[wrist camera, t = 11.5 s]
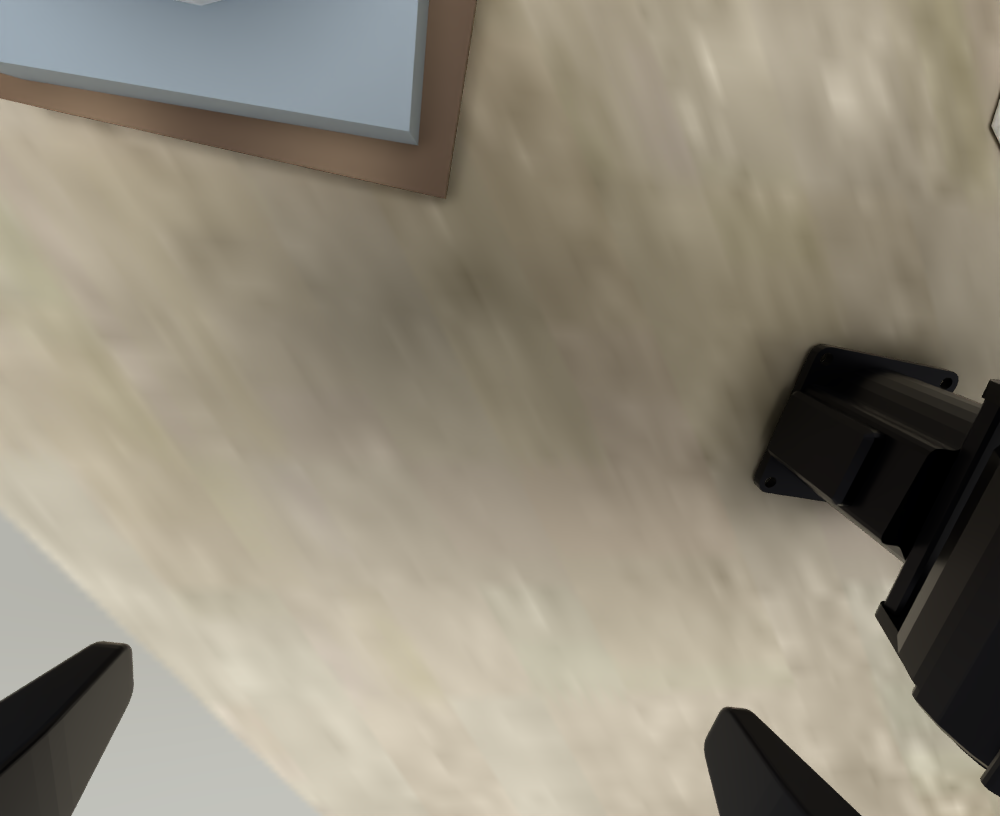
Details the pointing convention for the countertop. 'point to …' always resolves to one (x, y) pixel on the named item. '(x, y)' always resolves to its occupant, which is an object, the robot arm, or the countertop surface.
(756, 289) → the countertop surface
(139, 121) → the tower base
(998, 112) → the pepper shaker
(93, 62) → the tower top
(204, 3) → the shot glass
